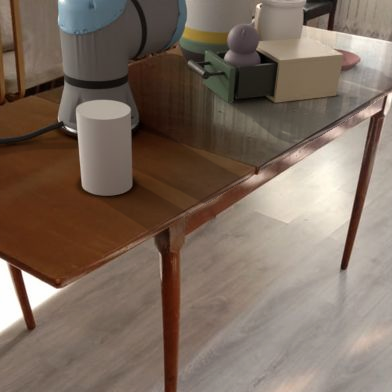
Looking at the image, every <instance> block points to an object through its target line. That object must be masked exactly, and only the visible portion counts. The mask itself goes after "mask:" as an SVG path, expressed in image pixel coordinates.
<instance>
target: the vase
mask: <svg viewBox="0 0 392 392" xmlns="http://www.w3.org/2000/svg"><path fill="white" fill-rule="evenodd" d="M185 1H186V5H187V21H186V23H185V30H184V32H183V35H182V36H181V38H180V39H179V48H180V52H181V55H182V56H183V58H184V59H185V60H186V61H187V62H188V61H189V60H193V61H195V62H204V61H205V51H211V52H213V53H214V54H216V55H217V52H223V51H229V50H230V48H229V46H228V43H227V39H228V35H229V33H230V31H231V29H232V28H234V27H235V26H237V25H239V24H249V25H250V24H251V23H253V14H254V4H255V3H254V2H255V0H185ZM201 67H203V68H204V65H201Z"/></svg>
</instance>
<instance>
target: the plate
mask: <svg viewBox="0 0 392 392" xmlns="http://www.w3.org/2000/svg"><path fill="white" fill-rule="evenodd" d="M333 49H334V50H336V51H338V52H340V53H342V54H344V56H343V62H342V67H341V72H344V71H345V72H346V71H350V70H351V69H352V68H354V67H355V66H357V65H358V64H360V62H361V61H362V58H361V57H360V55H358V54H356V53H354V52H351V51H348V50H345V49H344V50H343V49H339V48H333Z"/></svg>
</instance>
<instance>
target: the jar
mask: <svg viewBox="0 0 392 392" xmlns="http://www.w3.org/2000/svg"><path fill="white" fill-rule="evenodd" d="M260 2H261V3H262V6H261V9H260V13H259V17H258V25H257V32H258V34H259V41H270V40H283V39H296V38H302V33H303V26H304V9H303V8H304V6H305V5H306V4H307V0H260Z"/></svg>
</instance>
